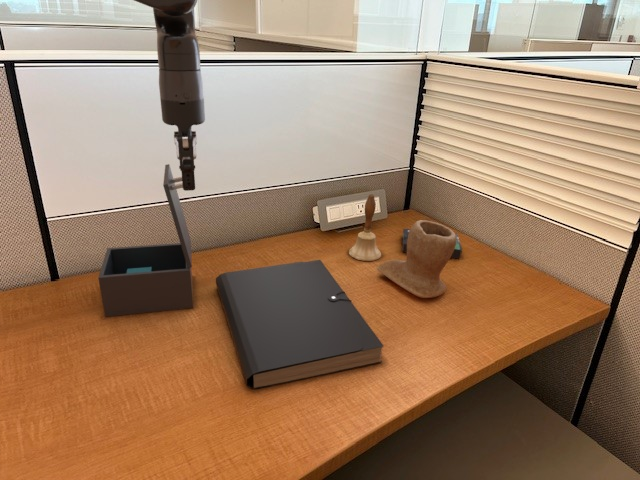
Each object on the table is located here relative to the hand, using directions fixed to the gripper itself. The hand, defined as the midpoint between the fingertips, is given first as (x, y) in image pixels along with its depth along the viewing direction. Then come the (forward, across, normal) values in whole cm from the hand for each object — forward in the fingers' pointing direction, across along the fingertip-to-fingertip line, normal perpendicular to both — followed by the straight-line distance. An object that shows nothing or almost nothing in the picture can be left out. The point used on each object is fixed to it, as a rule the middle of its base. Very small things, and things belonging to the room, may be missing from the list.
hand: (188, 182), depth 92 cm
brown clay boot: (+25, +6, +48) cm, 55 cm away
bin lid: (+7, 0, -3) cm, 7 cm away
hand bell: (+25, -11, +42) cm, 50 cm away
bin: (+24, 0, -9) cm, 26 cm away
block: (+24, 0, -11) cm, 26 cm away
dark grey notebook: (+25, +15, +17) cm, 34 cm away
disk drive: (+25, -11, +60) cm, 66 cm away
